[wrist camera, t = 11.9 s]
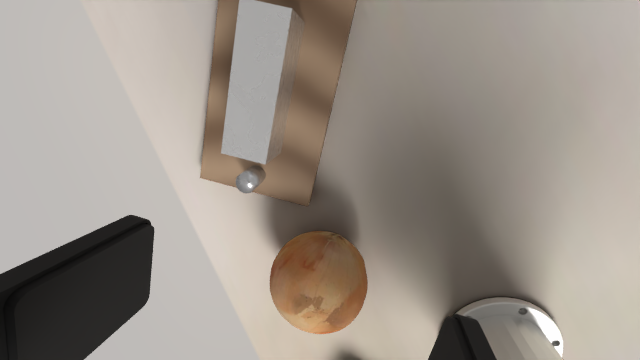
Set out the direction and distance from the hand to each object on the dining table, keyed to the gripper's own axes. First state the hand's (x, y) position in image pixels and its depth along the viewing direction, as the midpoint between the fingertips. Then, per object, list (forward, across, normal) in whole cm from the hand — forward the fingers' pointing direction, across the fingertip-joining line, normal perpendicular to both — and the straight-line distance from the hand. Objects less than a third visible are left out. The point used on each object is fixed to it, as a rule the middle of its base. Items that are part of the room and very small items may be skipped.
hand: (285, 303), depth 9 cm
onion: (+24, 0, +11) cm, 26 cm away
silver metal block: (+21, +9, -6) cm, 23 cm away
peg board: (+22, +9, -6) cm, 25 cm away
